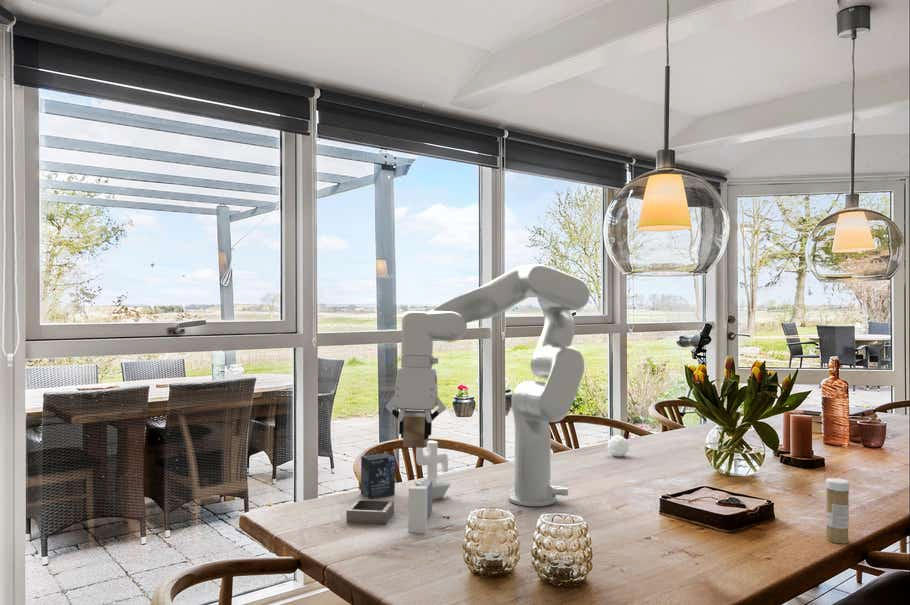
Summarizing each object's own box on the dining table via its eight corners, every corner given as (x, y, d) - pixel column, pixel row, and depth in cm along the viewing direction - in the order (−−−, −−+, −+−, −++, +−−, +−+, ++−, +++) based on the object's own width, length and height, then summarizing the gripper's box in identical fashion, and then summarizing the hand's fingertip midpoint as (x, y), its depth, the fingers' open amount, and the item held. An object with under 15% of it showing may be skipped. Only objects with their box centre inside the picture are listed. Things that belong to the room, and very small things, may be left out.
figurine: (453, 497, 183) (454, 441, 183) (423, 502, 178) (423, 445, 178) (440, 490, 189) (440, 437, 189) (410, 495, 184) (410, 440, 184)
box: (369, 499, 181) (369, 459, 181) (360, 494, 185) (360, 455, 185) (395, 494, 185) (395, 456, 185) (385, 490, 190) (386, 452, 190)
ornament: (625, 459, 228) (610, 440, 229) (612, 462, 234) (598, 443, 235) (637, 446, 232) (622, 427, 232) (624, 450, 238) (610, 432, 239)
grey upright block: (436, 511, 170) (436, 471, 170) (425, 532, 154) (425, 488, 154) (420, 510, 171) (420, 471, 171) (408, 532, 155) (408, 488, 155)
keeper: (394, 512, 169) (394, 500, 169) (385, 524, 160) (385, 512, 160) (356, 511, 170) (357, 499, 170) (346, 523, 161) (346, 510, 161)
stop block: (427, 443, 166) (427, 410, 166) (424, 447, 160) (424, 413, 161) (406, 442, 166) (406, 409, 166) (402, 447, 161) (403, 412, 161)
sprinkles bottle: (825, 536, 153) (825, 476, 153) (848, 539, 151) (848, 478, 151) (826, 542, 149) (826, 481, 149) (850, 545, 147) (850, 483, 147)
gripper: (453, 362, 167) (451, 436, 166) (385, 360, 168) (383, 433, 168) (450, 364, 159) (448, 442, 159) (378, 362, 161) (377, 439, 160)
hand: (415, 437), depth 163 cm, fingers closed on stop block, 5 cm apart
